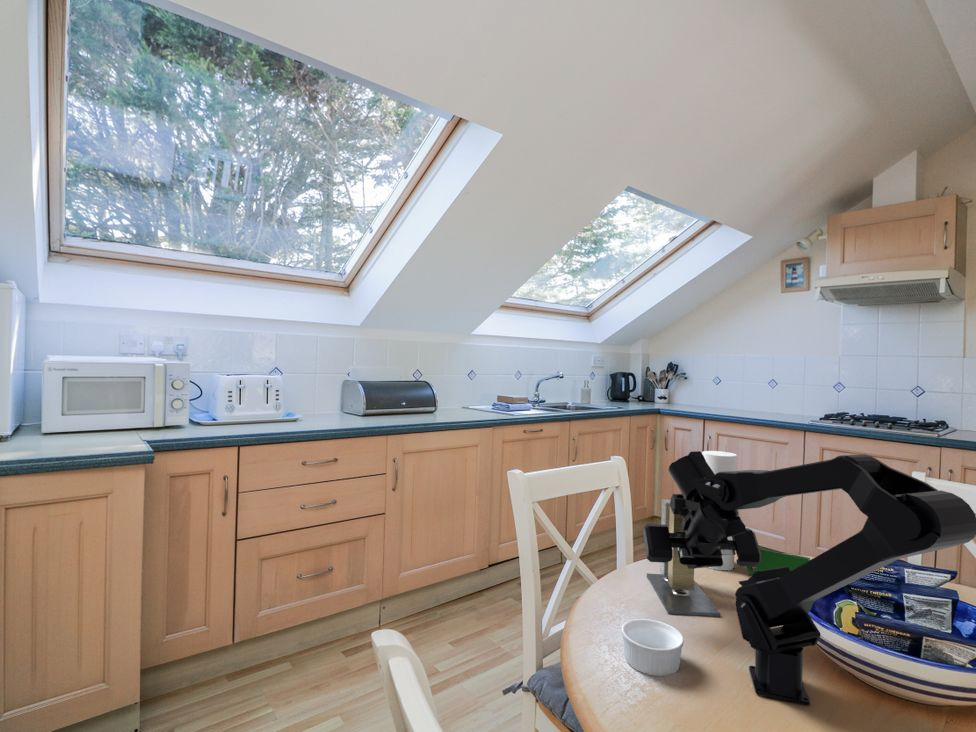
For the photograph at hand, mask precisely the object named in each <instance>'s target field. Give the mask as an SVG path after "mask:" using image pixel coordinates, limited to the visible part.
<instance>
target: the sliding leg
mask: <svg viewBox="0 0 976 732" xmlns="http://www.w3.org/2000/svg"><path fill="white" fill-rule="evenodd" d="M682 521H683V516H680V515H679V514H673V513H672V510H671V507H670V518H669V533H676V532H686V531H684V530H682V525H681V524H682ZM672 550H673V558H672V560H671V561H669V562H668V583H669V585H670V586H671V588H672V589H678V590H679V591H683V590H694V581H695V569H688V567H687V565H682V564H681V563H680V562H679V558H678V553H677V548H675V547H672Z"/></svg>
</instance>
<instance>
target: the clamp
mask: <svg viewBox="0 0 976 732" xmlns="http://www.w3.org/2000/svg"><path fill="white" fill-rule="evenodd" d="M759 548H760V551H761V555H762V560H761V561H760V563H759V564H758V565H757V567H755V570H754V569H753V568H754V567H746V571H747V573H748V574H749V575H751V576H752V575H753V574H754V573H756V572H757V571H763V570H769V569H776V568H782V567H789V569H790V572H791V571H792V570H794V569H796V568H797V567H799V566H801V565H803V564H804V563H806V562H808V561H810V560H811V558H810V557H806V556H803V555H797V554H793V553H792V554H789V553H783V552H778V551H773V550H770V549H768V548H764V547H763V548H762V547H759Z"/></svg>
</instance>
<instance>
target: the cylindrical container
mask: <svg viewBox="0 0 976 732" xmlns="http://www.w3.org/2000/svg"><path fill="white" fill-rule="evenodd" d="M701 453H702V455H703V456H704V458H705V460H706V462H707V464H708V465H709V467H710V468H711V470H712V471H713V473H714V474H716V473H718V472H726V471H738V470H737V464H738V463H737V461H738V454H736V453H733V452H729V451H728V452H727V451H720V450H703V451H701ZM727 538H728V540H733V539H732V536H730V537H727ZM722 560H723V565H722V566H720V567H719V566H716V567H708V568H707V569H710V570H714V569H715V570H714V571H721V570H728V571H732V570H734V569H733V568H735V555H722ZM731 569H732V570H731Z"/></svg>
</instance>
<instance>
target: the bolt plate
mask: <svg viewBox="0 0 976 732" xmlns="http://www.w3.org/2000/svg"><path fill="white" fill-rule="evenodd" d="M670 501H671V499H664V498H663V499H661V517H660V518H661V519H660V520H661V521H660V523H661V524H660V525H667V526H668V529H669V518H670ZM659 563H660V564H659V565H660V566H659V571H660V573H661V574H660V573H646V579H648V581H649V583H650V585H651V586H652V587H651V588H653V590H654V592H655V594H656V595H657V597H658V598H659V600H660V602H661V604H662V605H663V608H664V609H665V611H666V613H667V614H668V615H684V616H699V617H716V618H718V617H719V618H720V617H721V613H720V611H719V610H718V608H717V607H715V605H714V604H713V602H712V601H711V599H709V597H708V596H707V595H706V594H705V591H703V590H702V588H701V587H700V586H699V584H697V582H696V581H695V580H694V590H683V591H679V590H678V589H672V588H671V586H670V585H669V583H668V562H666V563H662V562H659Z"/></svg>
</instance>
